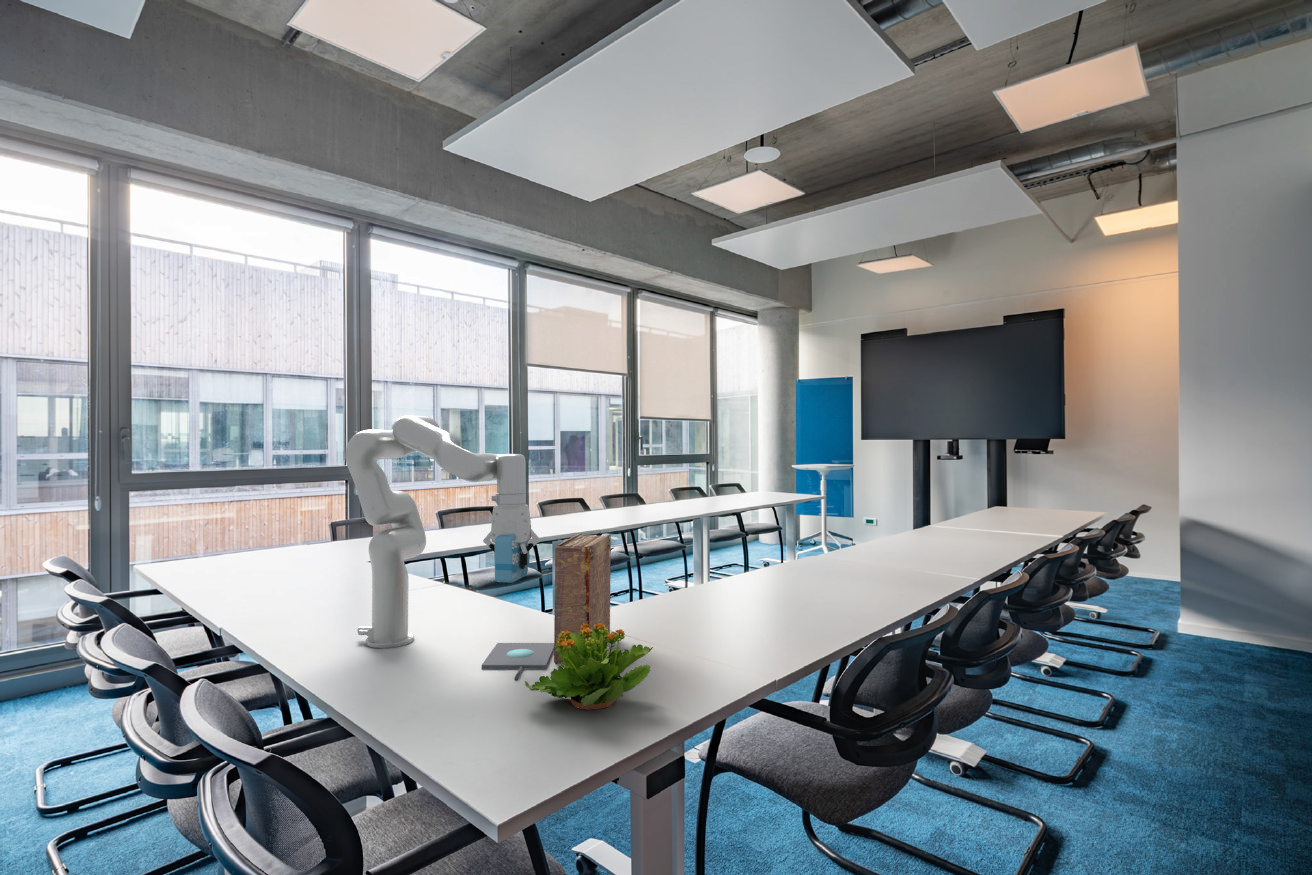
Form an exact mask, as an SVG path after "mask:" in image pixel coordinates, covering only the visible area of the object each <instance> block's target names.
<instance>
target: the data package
mask: <svg viewBox="0 0 1312 875" xmlns="http://www.w3.org/2000/svg"><path fill="white" fill-rule="evenodd" d="M528 542H529V541H528ZM528 542H526V543H527V546H528V545H529V543H528ZM494 544H495V552H494V580H495V582H496V583H512V584H513V583H515V582H516V581H518V580H520V579H522V578H524V577H526V576H527V575H528V571H529V551H528V552H527V565H525V568H524V569H521V554H522V549H521V546H520V544H517V543H516V535H499V536H497V537H496V538H495V543H494Z"/></svg>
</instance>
